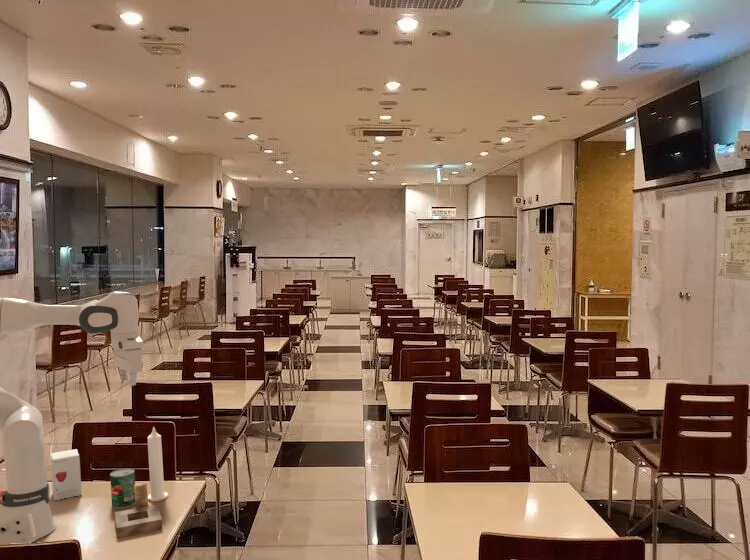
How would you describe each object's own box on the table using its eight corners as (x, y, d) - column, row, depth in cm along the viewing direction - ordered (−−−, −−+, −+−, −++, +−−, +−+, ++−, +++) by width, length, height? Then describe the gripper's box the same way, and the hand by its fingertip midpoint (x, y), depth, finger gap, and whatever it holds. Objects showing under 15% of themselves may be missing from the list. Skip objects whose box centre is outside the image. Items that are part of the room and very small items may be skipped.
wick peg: (136, 514, 217) (134, 487, 216) (135, 510, 221) (133, 483, 220) (149, 512, 219) (147, 485, 218) (147, 507, 222) (146, 481, 222)
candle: (142, 499, 230) (138, 428, 228) (158, 492, 236) (154, 423, 234) (157, 502, 226) (153, 430, 225) (172, 495, 233) (168, 425, 231)
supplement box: (54, 501, 231) (51, 459, 230) (52, 493, 238) (49, 452, 237) (82, 496, 235) (79, 454, 234) (79, 488, 243) (77, 448, 242)
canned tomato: (106, 507, 224) (104, 475, 223) (121, 498, 231) (119, 467, 231) (127, 509, 222) (125, 476, 221) (141, 499, 230) (139, 468, 229)
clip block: (117, 537, 200) (116, 528, 200) (115, 521, 212) (114, 512, 212) (162, 528, 205) (161, 519, 205) (157, 513, 217) (157, 504, 217)
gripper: (107, 338, 222) (110, 379, 222) (124, 345, 205) (127, 389, 206) (126, 336, 225) (129, 376, 226) (145, 343, 209) (147, 386, 210)
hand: (128, 382), depth 216 cm, fingers open, 8 cm apart
